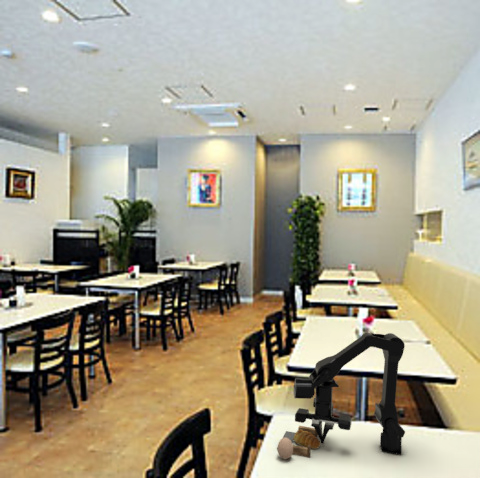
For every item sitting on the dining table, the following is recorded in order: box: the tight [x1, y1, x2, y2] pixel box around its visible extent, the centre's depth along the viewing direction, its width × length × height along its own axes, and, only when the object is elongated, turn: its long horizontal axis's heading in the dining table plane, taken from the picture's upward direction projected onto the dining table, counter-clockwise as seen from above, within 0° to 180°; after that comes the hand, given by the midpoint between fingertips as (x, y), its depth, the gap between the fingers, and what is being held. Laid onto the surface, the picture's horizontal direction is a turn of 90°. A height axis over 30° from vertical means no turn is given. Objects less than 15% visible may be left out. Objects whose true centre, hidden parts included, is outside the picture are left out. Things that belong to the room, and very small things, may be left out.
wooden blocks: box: [292, 425, 319, 458], centre depth 161 cm, size 7×17×4 cm, turn 161°
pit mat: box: [276, 430, 296, 449], centre depth 163 cm, size 4×14×1 cm, turn 161°
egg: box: [276, 437, 294, 460], centre depth 151 cm, size 5×5×7 cm
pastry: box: [293, 430, 321, 450], centre depth 161 cm, size 9×7×4 cm
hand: (322, 443), depth 159 cm, fingers closed
